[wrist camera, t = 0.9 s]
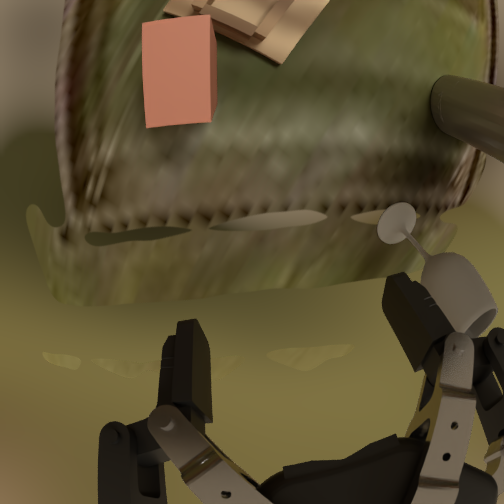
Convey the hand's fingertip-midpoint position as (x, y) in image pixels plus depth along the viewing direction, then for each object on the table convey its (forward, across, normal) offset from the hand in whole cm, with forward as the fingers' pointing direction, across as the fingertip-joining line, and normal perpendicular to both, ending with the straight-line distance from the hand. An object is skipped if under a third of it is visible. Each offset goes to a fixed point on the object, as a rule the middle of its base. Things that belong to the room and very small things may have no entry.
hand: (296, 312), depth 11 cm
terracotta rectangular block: (+24, +3, -10) cm, 26 cm away
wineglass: (+23, -21, +14) cm, 34 cm away
